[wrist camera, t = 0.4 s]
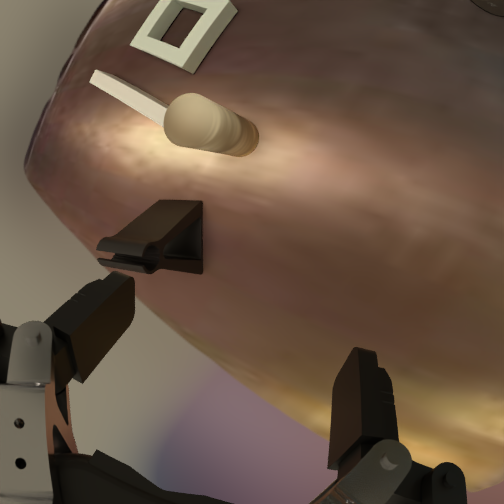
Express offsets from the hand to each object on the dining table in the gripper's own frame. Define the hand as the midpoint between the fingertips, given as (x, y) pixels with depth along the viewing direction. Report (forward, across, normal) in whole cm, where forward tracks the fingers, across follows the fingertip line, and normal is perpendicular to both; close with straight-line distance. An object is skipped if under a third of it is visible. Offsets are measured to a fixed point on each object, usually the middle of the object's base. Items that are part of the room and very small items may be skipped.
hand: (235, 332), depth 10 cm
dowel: (+26, +7, -3) cm, 28 cm away
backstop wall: (+29, +22, -6) cm, 37 cm away
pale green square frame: (+30, +18, -16) cm, 39 cm away
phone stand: (+25, +12, +10) cm, 30 cm away
